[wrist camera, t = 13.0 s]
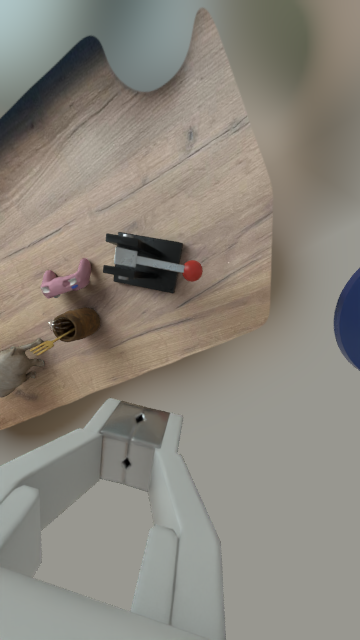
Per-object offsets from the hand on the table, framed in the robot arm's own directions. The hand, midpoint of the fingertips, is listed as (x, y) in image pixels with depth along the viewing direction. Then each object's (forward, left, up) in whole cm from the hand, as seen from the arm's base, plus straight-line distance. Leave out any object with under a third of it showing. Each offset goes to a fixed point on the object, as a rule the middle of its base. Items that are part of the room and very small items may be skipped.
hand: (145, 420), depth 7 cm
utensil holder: (+23, +1, -30) cm, 38 cm away
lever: (+4, -8, -24) cm, 25 cm away
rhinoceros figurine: (+42, +10, -30) cm, 53 cm away
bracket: (+8, -9, -30) cm, 33 cm away
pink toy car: (+24, -8, -30) cm, 40 cm away
